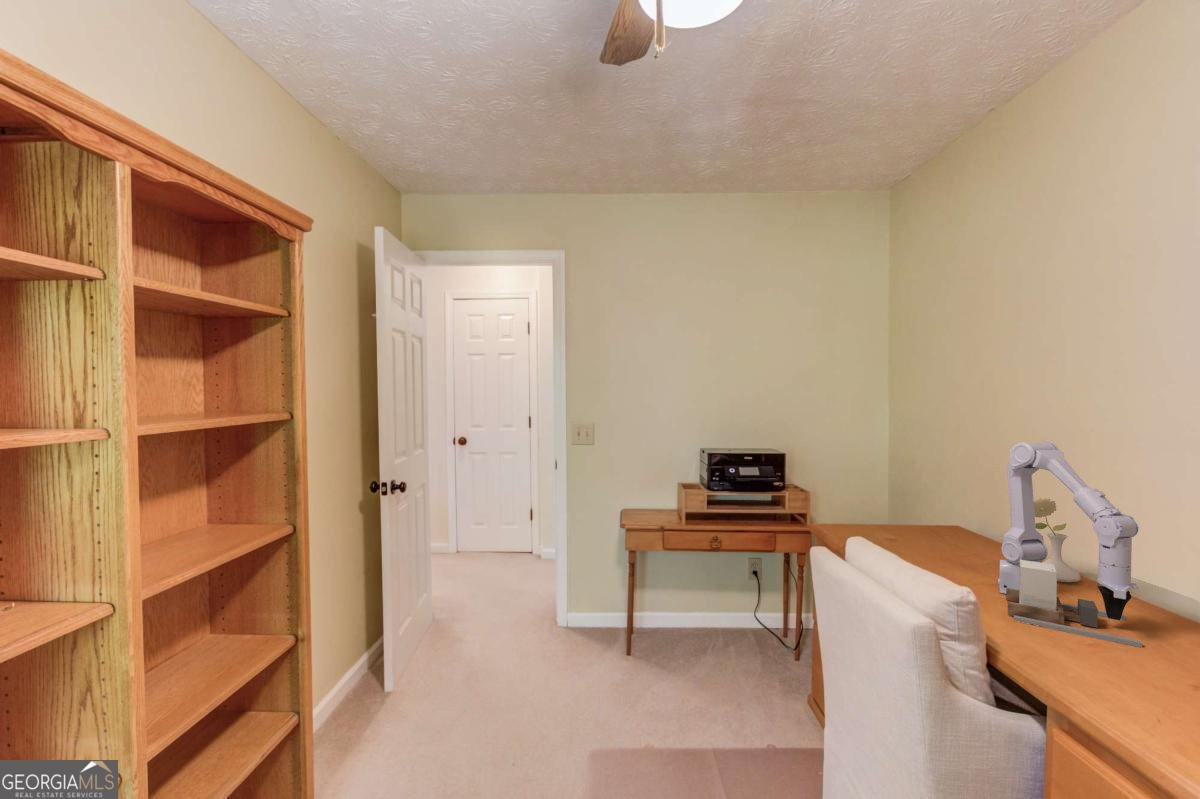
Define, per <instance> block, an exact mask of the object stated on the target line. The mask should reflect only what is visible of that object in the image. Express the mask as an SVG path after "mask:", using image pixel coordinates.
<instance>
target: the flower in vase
mask: <svg viewBox="0 0 1200 799" xmlns="http://www.w3.org/2000/svg"><path fill="white" fill-rule="evenodd" d="M1033 500H1034V513H1035V518H1043V517H1044V519H1045V522H1046V523H1044V522H1037V523H1036V522H1035V527H1036V530H1044V529H1046V528H1049V530H1051V532H1046V533H1045V534H1046V536H1047V537H1048V538H1049V541H1050V544H1051V545H1050V546H1051V555H1050V557H1049V558H1048V559H1045V560H1042V563H1047V564H1053V565H1054V567H1055V569H1056V571H1057V582H1061V583H1075V582H1076V583H1077V582H1079V581H1080V580H1081V579H1082V576H1081V575H1080V573H1078V572H1077V571H1076V570H1075V569H1074V568H1073V567H1072V566H1070V565H1069V564H1068V563H1067V562H1065V561H1064V559H1063V556H1062V548H1063V543H1064V541H1065V540H1066V539H1067V538H1068V535H1066V534H1063V533H1059V532H1060V531H1063V530H1065V529H1066V526H1067V523H1062V524H1057V525H1054V526H1053V528H1052V527H1051V526H1050V524H1049V522H1048V518H1047V517H1048V516H1052V514H1054V512H1056V511H1057V502H1056V501H1055V500H1051V498H1047V497H1044V498H1041V497H1039V498H1037V499H1033ZM1058 531H1059V532H1058Z"/></svg>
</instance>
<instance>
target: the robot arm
mask: <svg viewBox="0 0 1200 799" xmlns="http://www.w3.org/2000/svg"><path fill="white" fill-rule="evenodd" d="M1006 469H1007V470H1006V472H1007V483H1008V484H1007V485H1008V500H1009V501H1008V502H1009V513H1010V528H1009V529H1008V530H1007V532H1005V533H1004V534H1003V542H1002V544H1001V548H1000V549H1001V553H1002V556H1004V558H1005V559H999V572H998V573H999V575H998V576H999V578H998V579H997V586H999V587H998V588H999V593H1000V594H1004V595H1006V588H1011V589H1017V590H1019V587H1020V560H1026V561H1033V562H1040V563H1042V562H1043V561H1045V560H1047V557H1048V553H1049V552H1048V548H1047V545H1046V544H1045V542H1044V536H1043V535H1042V534H1041V533H1040V531H1038V529H1037V528H1036V527H1035V524H1036V517H1035V513H1034V500H1035V499H1034V488H1033V474H1035V473H1036V472H1037V471H1039V470H1045V471H1047V472H1048V471H1049V472H1050V473H1052V475H1054V476H1055V477H1056V478H1057V479H1058V480H1059V481H1060V482H1061V483H1062V484H1063V485H1064V486H1065V487H1066V488H1067V489H1068V490H1069V491H1071V493H1072V494H1073V501H1074V503H1075V504H1076V505H1077V506H1078V507H1079V508H1080V509H1081V510H1082V511H1083V512H1084V514H1085V515H1086V516H1087V517H1088V519H1089V520H1091V521H1092V530H1093V531H1094V533H1095V534H1096V536H1097V542H1098V577H1097V578H1096V579H1097V580H1096V582H1097V583H1098V584H1100V585H1097V590H1098V591H1099V592H1100V594H1101V597H1102V600H1103V604H1104V605H1103V606H1104V608H1105V609H1104V611H1106V614H1107V616H1108V617H1107V618H1108V619H1110V620H1114V621H1115V620H1116V621H1121V617H1122V614H1124V613H1123V612H1124V610H1125V608H1126V605H1127V604H1128V602H1129V601H1130V600H1131V599H1132V597H1133V596H1132V594H1131V592H1130V590H1131V589H1139V586H1138V584H1137V583H1133V582H1132V545H1133V544H1132V543H1133V542H1132V541H1133V538H1134V537H1135V536H1137V534H1138V533H1139V525H1138V523H1137V521H1136V520H1135V519H1134V517H1133V516H1132V515H1129V514H1126V513H1123V512H1122V511H1121V510H1120V509H1119V508H1116V506H1114V505H1113V504H1112V503H1111V502H1110V500H1108V498H1107V497H1106V494H1105V492H1103V491H1100V490H1099V489H1097V488H1092V487H1089V486H1088V485H1087V484H1086V482H1085V481H1084V480H1083V479H1082V478H1081V476H1080V475H1079V474H1078V473H1077V472H1076V471H1075V469H1074V468H1073V467H1072V466H1071V465H1070V463H1069V462H1068V461H1067V460H1066V459H1065V454H1064V452H1063V451H1062V450H1061V449H1059V447H1058V446H1057V445H1056V444H1055V443H1053V442H1051V441H1042V442H1024V441H1022V442H1018V443H1016V444H1014V445H1013V446H1012V447H1011V448H1009V461H1008V464H1007V467H1006Z"/></svg>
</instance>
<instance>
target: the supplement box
mask: <svg viewBox="0 0 1200 799" xmlns="http://www.w3.org/2000/svg"><path fill="white" fill-rule="evenodd" d="M1057 594H1058V581H1057V571H1056V569H1055V567H1054V565H1053V564H1047V563H1040V562H1033V561H1026V560H1020V587H1019V602H1018V604H1023V605H1028V606H1033V607H1039V608H1044V609H1049V610H1054V611H1057V597H1058V596H1057Z"/></svg>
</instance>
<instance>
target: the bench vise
mask: <svg viewBox="0 0 1200 799" xmlns="http://www.w3.org/2000/svg"><path fill="white" fill-rule="evenodd" d="M1005 596H1006V597H1005V599H1006V600H1008V601H1007V615H1009V616H1013V617H1014V615H1015V616H1020V617H1025V618H1030V619H1035V620H1040V621H1045V622H1050V623H1055V624H1060V625H1065V620H1067V621H1072V622H1077V623H1080V625H1082V626H1087V627H1093V628H1098V624H1099V623H1098V622H1099V620H1098V619H1099V618H1098V616H1099V615H1098V610H1099V609H1098V607H1097V605H1096V603H1095V601H1093V600H1087V599H1082V598H1077V606H1078V611H1077V613H1076V612H1075V613H1074V612H1068V611H1065V610H1064V609H1062V606H1061V603H1062V602H1061V601H1060V597H1059V596H1057V611H1054V610H1049V609H1044V608H1039V607H1033V606H1028V605H1023V604H1019V590H1017V589H1011V588H1006V594H1005ZM1011 601H1012V602H1011ZM1016 602H1018V603H1016Z"/></svg>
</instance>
